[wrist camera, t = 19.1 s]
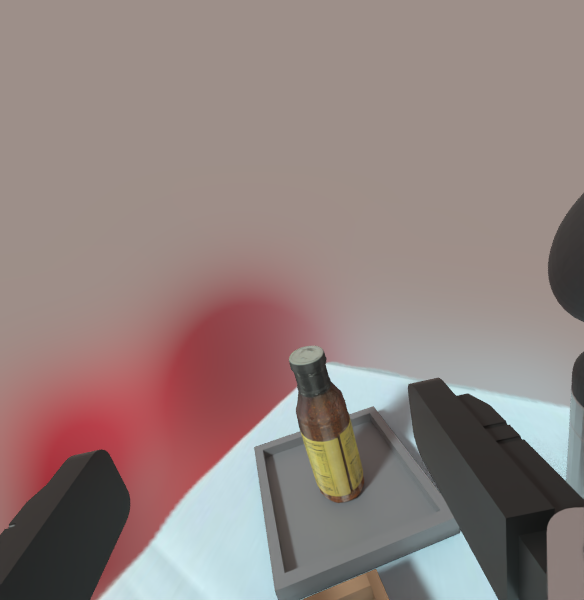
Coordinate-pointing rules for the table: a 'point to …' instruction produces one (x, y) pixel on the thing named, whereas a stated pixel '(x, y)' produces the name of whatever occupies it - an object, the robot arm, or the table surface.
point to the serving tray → (346, 511)
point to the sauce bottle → (326, 427)
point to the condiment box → (355, 589)
